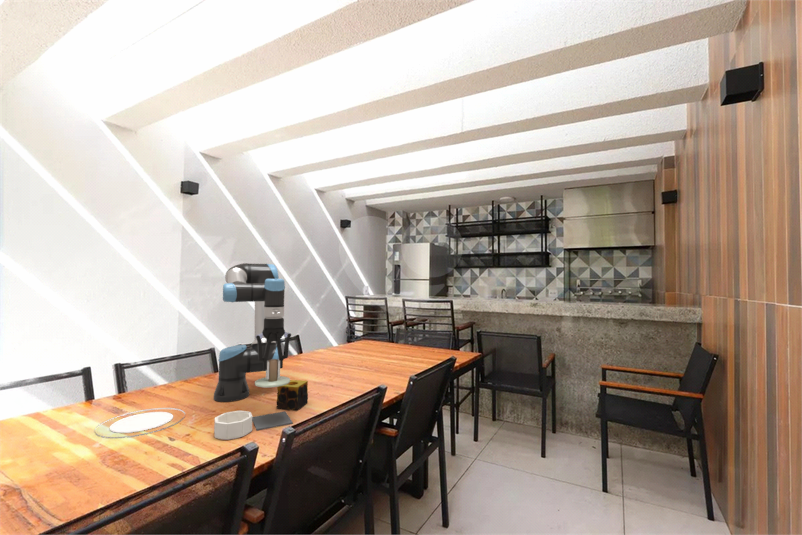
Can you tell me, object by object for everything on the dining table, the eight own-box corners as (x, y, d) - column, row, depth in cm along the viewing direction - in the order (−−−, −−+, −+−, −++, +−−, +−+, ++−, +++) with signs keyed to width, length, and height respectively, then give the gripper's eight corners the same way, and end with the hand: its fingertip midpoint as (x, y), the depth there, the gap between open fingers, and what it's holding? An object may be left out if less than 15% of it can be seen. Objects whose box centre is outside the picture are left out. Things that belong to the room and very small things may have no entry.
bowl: (213, 429, 130) (214, 414, 130) (249, 423, 136) (249, 408, 136) (215, 442, 119) (215, 426, 119) (253, 435, 125) (253, 419, 125)
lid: (252, 380, 141) (253, 358, 141) (286, 376, 147) (286, 355, 148) (257, 389, 129) (258, 365, 130) (293, 384, 136) (293, 361, 136)
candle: (297, 411, 149) (297, 387, 149) (275, 409, 151) (276, 385, 151) (308, 403, 159) (308, 380, 159) (287, 401, 161) (288, 379, 161)
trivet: (251, 418, 140) (251, 417, 140) (285, 412, 147) (285, 411, 147) (256, 430, 129) (256, 429, 129) (292, 423, 136) (292, 422, 136)
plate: (101, 446, 116) (101, 444, 116) (89, 423, 135) (89, 421, 135) (195, 422, 137) (195, 420, 137) (173, 404, 156) (173, 403, 156)
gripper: (253, 319, 132) (251, 382, 131) (297, 317, 140) (296, 377, 139) (250, 317, 138) (248, 378, 138) (292, 315, 147) (291, 372, 146)
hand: (272, 377), depth 138 cm, fingers closed on lid, 3 cm apart
